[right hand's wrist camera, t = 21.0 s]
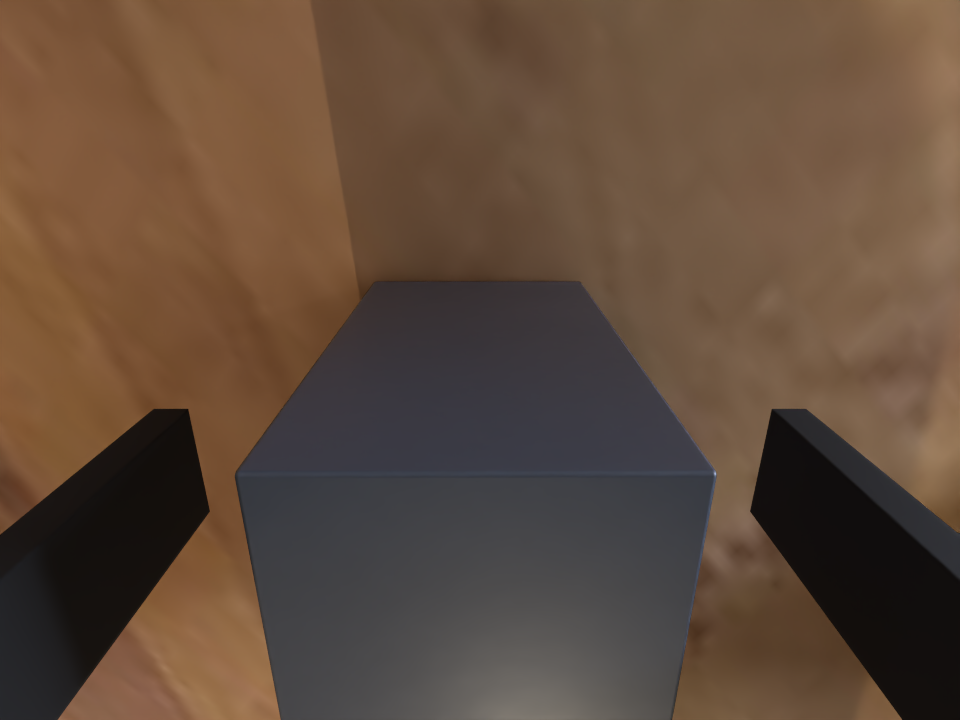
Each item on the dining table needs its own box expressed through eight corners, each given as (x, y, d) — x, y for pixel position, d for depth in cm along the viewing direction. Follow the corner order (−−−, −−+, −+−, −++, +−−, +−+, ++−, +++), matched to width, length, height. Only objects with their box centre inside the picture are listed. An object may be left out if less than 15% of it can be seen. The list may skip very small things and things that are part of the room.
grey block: (580, 280, 16) (719, 472, 7) (568, 459, 18) (661, 788, 9) (373, 281, 16) (231, 473, 7) (386, 459, 18) (291, 789, 9)
